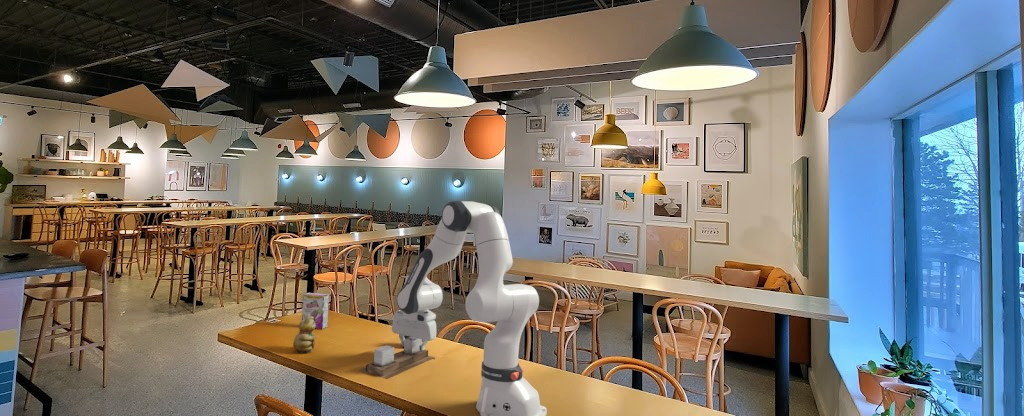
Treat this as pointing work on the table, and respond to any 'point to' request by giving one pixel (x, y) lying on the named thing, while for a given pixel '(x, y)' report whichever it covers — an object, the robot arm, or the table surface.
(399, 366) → the brown wooden tray
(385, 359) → the block
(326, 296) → the candy bar box
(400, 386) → the table surface
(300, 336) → the decorative figurine
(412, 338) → the block
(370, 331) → the table surface
